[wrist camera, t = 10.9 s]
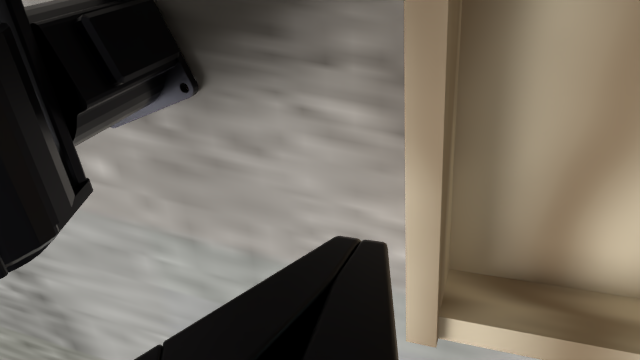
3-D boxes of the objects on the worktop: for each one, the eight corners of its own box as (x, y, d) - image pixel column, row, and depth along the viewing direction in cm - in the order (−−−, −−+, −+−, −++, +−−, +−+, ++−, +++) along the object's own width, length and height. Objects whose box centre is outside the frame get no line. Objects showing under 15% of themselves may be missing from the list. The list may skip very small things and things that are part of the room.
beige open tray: (427, 265, 24) (406, 341, 20) (439, -320, 14) (401, -406, 10) (727, 311, 20) (777, 419, 16) (1056, -478, 10) (1430, -741, 6)
